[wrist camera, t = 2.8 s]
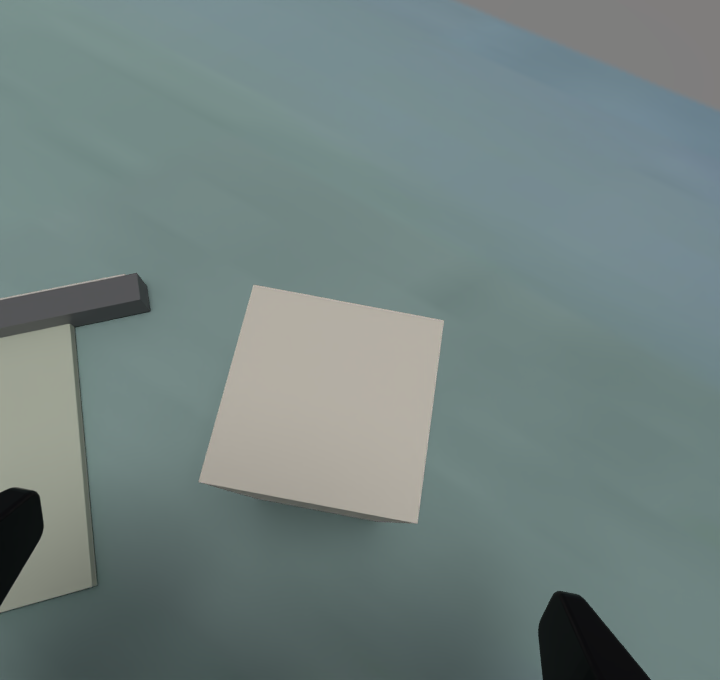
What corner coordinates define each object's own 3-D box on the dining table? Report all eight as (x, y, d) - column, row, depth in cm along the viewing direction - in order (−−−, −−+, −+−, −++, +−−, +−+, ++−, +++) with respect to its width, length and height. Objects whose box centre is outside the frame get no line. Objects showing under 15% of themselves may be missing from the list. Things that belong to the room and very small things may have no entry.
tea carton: (377, 521, 19) (417, 523, 10) (257, 498, 19) (198, 481, 10) (396, 399, 20) (444, 314, 12) (285, 378, 20) (255, 279, 12)
